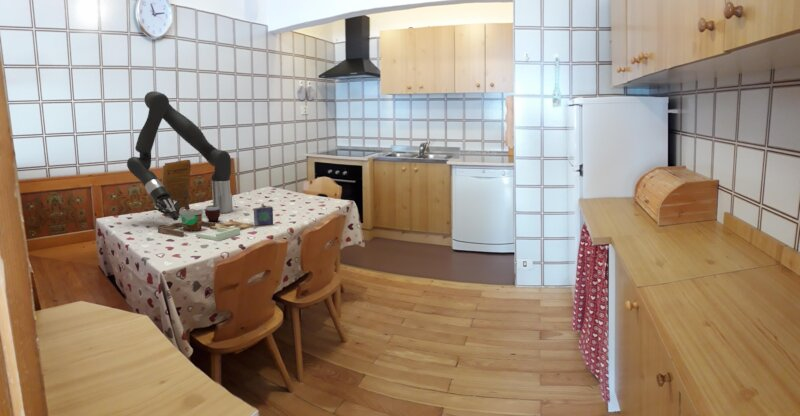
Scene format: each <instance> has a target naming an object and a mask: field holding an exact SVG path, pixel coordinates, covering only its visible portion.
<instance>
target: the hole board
mask: <svg viewBox="0 0 800 416" xmlns="http://www.w3.org/2000/svg"><path fill="white" fill-rule="evenodd" d="M218 227H219V228H225V229H230V230H231V229H235V228H240V231H243V230H246V229H249V228H252V227H255V226H254V223H247V222H243V221H242V222H241V221H235V220H230V221H227V222H223V223H217V224H216V226H211V227H210V228H209V229H210V230H215V231H217V228H218Z"/></svg>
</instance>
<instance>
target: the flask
mask: <svg viewBox="0 0 800 416" xmlns="http://www.w3.org/2000/svg"><path fill="white" fill-rule="evenodd" d="M264 203H265V202H264ZM264 203H261V206H258V207H254V208H253V224H254V226H253V227H263V226H272V225H274V213H273V212H274V211H273V209H274V208H273V206H271V205H265V204H264Z"/></svg>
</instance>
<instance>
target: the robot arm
mask: <svg viewBox="0 0 800 416" xmlns="http://www.w3.org/2000/svg"><path fill="white" fill-rule="evenodd" d="M144 103H145V106H146V107H147V108H148V114H147V116H146V117H147V118H146V120H145V122H144V124H143V127H142V128H141V129H140V132H139V135H138V137H137V140H136V144H135V146H134V147H135V151H136V152H137V153H139V157H138V156H132V157H130V158H128V160H127V161H126V167H127V169H128V170H129V172H130V173H131V174H132V175H133V176H134V177H135V178H137V179H138V180H139V181H140V182H141V184H142V185H143V187H144V188H145V190H146V193H147V194H148V195H149V196H150V197H151V199H152V201H153V202H154V203H155V204H156V205H154V208H153V209H154V210H156V211H158V212H159V213H161V214H163V215H164V214H169V215H170V216H169V217H170V218H171V219H172V220H173V221H178V220H179V218H180V217H179V216H180V215H179V214H177V213H176V211H177V210H178V206H179V201H178V200H177V201H174V200H173V199H172V198H171V197H170V195H169V193H168V191H167V190H166V188H165V187H164V186H163V184H162V181H160V180H159V178H158V177H157V175H156V173H154V171H151V170H150V168H151V165H152V151H153V146H154V144H155V140H156V136H157V133H158V131H159V128H160V125H161V123H162V121H163V120H164V121H165V122H166V123H167V124H168V125H169V127H170V128H171V129H172V130H173V131H175V133H176V134H177V135H178V136H180V137H181V138H182V139H183V140H184V141H185V142H186V143H188V145H190V146H191V147H192V148H194V149H195V150H196V151H197V152H199V153H200V155H202V157H203V158H204V160H206V162H208V163H209V165H211V166H213V167H214V173H213V174H211V194H212V205H216V202H217V199H218V196H219V195H220V194H221V193H222V192H223V193H222V194H221V195H220V197H219V199H218V202H217V206H218V207H219V208H220V214H226V213H231V212H233V210H234V209H233V208H234V207H233V194H232V193H231V179H230V178H231V175H232V158H231V155H230V154H229V152H227V151H226V150H222V149H218V148H216V147H215V146H213V144H211V143H210V142H209V140H208V139H207V137H206V136H205V134H204V133H203V131H202V130H201V129H200V128H199V127H198V126H197V124H195V122H193V121H192V120H190V119H189V118H188V117H186V116H185V115H184V114H182V113H180V112H179V111H178V110H176V109H175V108H174V107H173V106H172V105H171V104H170V100H169V98H168V96H167V95H166V94H165V93H162V92H159V91H157V90H156V91H155V90H153V91H149V92H146V94H145V96H144Z"/></svg>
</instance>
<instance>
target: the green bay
mask: <svg viewBox="0 0 800 416" xmlns="http://www.w3.org/2000/svg"><path fill="white" fill-rule="evenodd" d="M216 232H217V233H215V235H211V234H205V233H199V232H196V233H195V237H197V238H199V239H200V238H201V239H204V240H211V241H216V242H219V241H223V240H226V239H229V238H232V237H235V236H236V237H237V236H239V235H241V230H240V228H235V229H231V230H230V229H225V228H219V227H218V228H217V230H216Z"/></svg>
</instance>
